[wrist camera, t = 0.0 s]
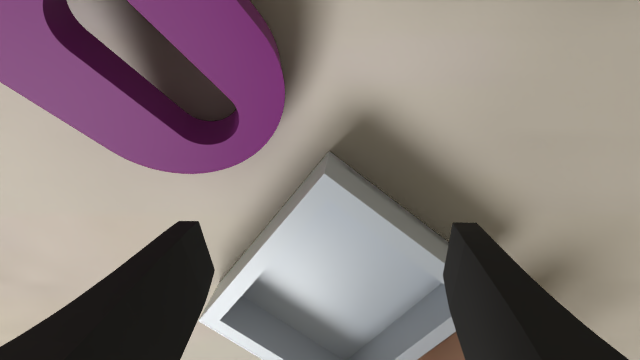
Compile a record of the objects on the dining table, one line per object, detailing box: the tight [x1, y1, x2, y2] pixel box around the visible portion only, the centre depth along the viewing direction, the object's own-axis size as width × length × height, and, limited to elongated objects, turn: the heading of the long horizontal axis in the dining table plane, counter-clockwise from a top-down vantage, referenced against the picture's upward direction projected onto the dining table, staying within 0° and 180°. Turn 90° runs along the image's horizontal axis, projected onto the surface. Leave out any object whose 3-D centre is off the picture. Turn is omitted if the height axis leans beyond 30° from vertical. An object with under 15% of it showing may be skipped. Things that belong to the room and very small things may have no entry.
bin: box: [199, 151, 456, 360], centre depth 22 cm, size 13×12×4 cm
